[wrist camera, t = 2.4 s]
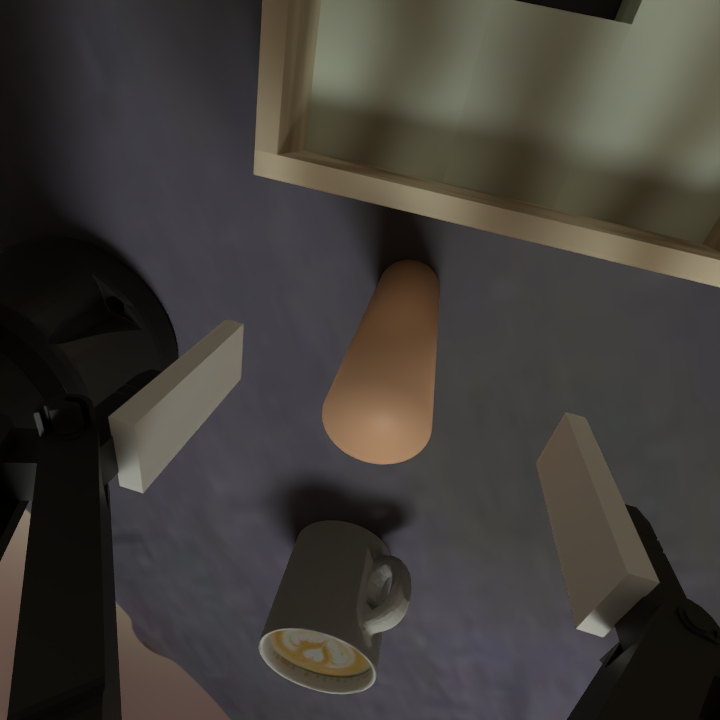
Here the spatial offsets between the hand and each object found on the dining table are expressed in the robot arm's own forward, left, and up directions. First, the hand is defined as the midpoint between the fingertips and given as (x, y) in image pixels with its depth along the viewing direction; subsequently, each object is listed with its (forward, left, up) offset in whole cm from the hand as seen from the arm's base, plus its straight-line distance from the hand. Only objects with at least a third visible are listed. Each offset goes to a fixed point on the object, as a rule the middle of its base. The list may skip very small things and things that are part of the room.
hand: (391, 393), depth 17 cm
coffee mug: (+2, -28, -12) cm, 30 cm away
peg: (0, 0, -12) cm, 12 cm away
